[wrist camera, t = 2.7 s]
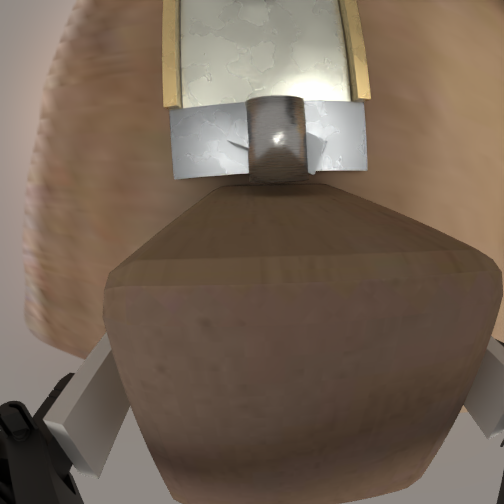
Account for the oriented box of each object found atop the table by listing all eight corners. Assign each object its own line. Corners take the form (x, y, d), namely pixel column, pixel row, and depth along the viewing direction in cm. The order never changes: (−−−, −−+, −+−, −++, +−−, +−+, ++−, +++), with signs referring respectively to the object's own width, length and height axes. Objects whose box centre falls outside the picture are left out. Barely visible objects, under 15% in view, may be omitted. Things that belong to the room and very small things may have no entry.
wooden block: (330, 296, 27) (420, 492, 8) (219, 300, 27) (170, 513, 8) (334, 183, 24) (525, 259, 5) (211, 186, 24) (74, 277, 5)
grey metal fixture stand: (174, -39, 18) (147, -96, 9) (333, -45, 17) (358, -102, 8) (178, 180, 24) (135, 194, 15) (361, 172, 24) (416, 181, 15)
